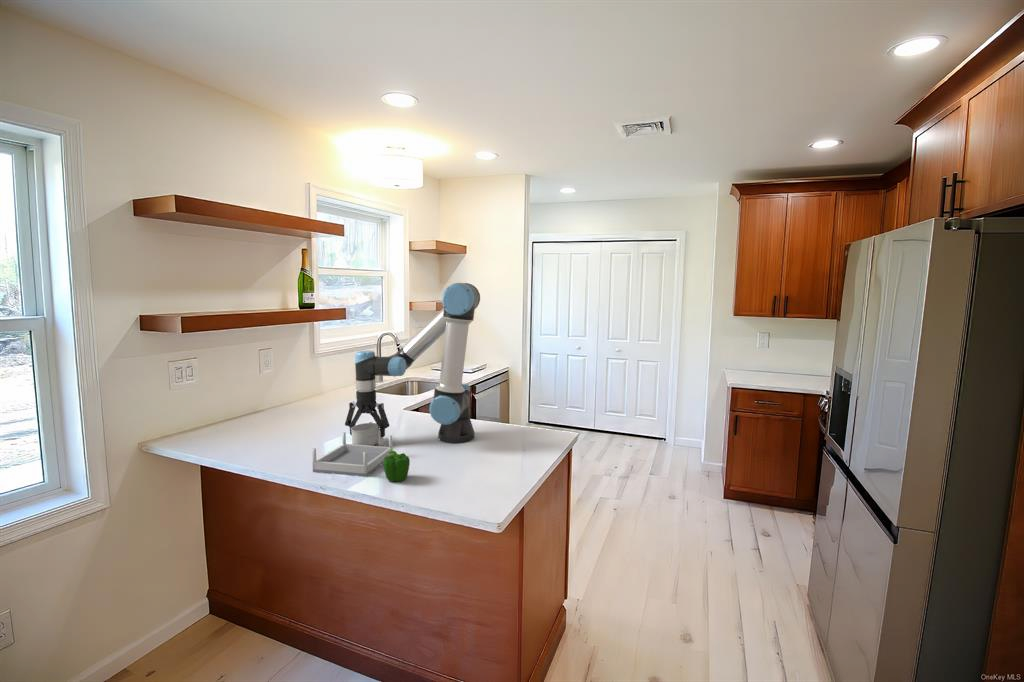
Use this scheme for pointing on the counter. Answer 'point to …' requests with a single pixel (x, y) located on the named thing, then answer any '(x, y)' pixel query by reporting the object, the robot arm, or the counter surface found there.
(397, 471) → the bell pepper
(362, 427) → the teacup
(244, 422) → the counter surface
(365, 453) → the dish rack
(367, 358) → the robot arm
